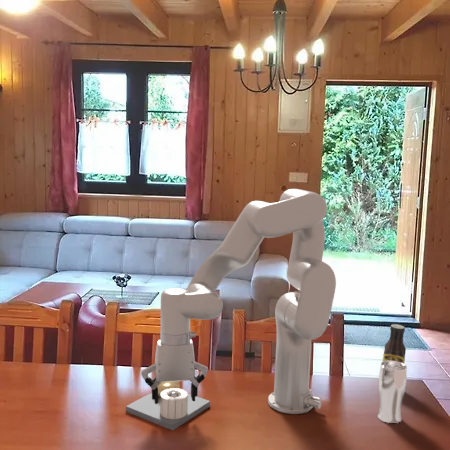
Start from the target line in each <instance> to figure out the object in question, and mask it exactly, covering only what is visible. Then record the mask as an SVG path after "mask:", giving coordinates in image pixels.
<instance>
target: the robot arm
mask: <svg viewBox="0 0 450 450" xmlns="http://www.w3.org/2000/svg"><path fill="white" fill-rule="evenodd" d="M327 206H328V205H327V202H326V200H325V198H324V197H323V196H322V195H320V193H319V194H318V193H317V192H314V191H309V190H306V189H301V188H289V189H287V190H285V191H284V192H283V193H281V195H280V198H279V201H278V202H271V203H270V202H268V201H267V202H266V201H264V200H253V201H250V202H249V203H247V204H246V205H245V206H244V207H243V209H242V211H241V213H239V215H238V217H237V219H236V221H234V223H233V225H232V227H231V228H230V230H229V231H228V233H227V234H226V237H225V238H224V239H223V241H222V243H221V244H220V245H219V246H218V247H217V249H215V251H213V252H212V253H211V254H210V256H209V257H207V258H206V260H204V261H203V263H202V264H201V265H200V266H199V268H198V269H197V271H196V272H194V273H195V274H194V276H192V278H191V280H190V282H189V283H188V285H187V287H186V289H185V288H180V287H179V288H178V287H174V288H173V287H171V288H166V289H164V290H162V292H161V294H160V336H159V337H160V338H159V339H158V341H157V343H156V348H155V356H154V363H153V364H151V365H149V366H148V367H146V368H144V369H142V370H141V371H140V375H141V377H142V378H143V380H144V382H145V383H146V385H147V386H149V387H150V388H151V393H152V400H153V399H155V404H157V403H158V387H157V386H158V385H159V384H160V383H161V382H173V381H178V382H186V381H190V382H191V383H190V394H191V398H192V401H195V397H196V396H197V397H198V393H199V392H198V389H199V388H198V387H199V385H200V383H202V381H203V380H205V378H206V376H207V374H208V372H209V368H208V366H206V365H204V364H202V363H199V362H197V361H196V360H195V351H194V350H195V349H194V343H193V340H192V339H193V338H196V336H197V333H196V331H192V330H191V319H193V320H202V321H203V320H204V321H206V320H209V321H210V320H214V319H216V318H217V317H219V316H220V315H221V313H222V311H223V307H224V304H223V299H222V298H221V296H220V295H219V294H218V293H217V292H216V290H217V289H218V287H219V286H220V284H221V282H223V280H224V278H226V276H228V275H229V274H230V273H231V272H234V271H235V270H236V271H237V270H239V269H241V268H243V267H245V266H247V265H248V264H249V262H250V261H251V259H252V258H253V256H254V255H255V253H256V251H257V250H258V248H259V246H260V245H261V243H262V242H263V240H264V239H265V238H266V239H270V238H278V237H282V236H286V235H289V234H292V241H291V242H292V244H291V248H290V255H289V259H288V264H287V268H286V269H287V270H286V278H287V281H288V283H289V284H290V285H291V286H292V287H294V288H295V289H297V290H298V291H299V292H295V291H289V292H287V293H284V294H283V295H281V296H279V298H278V300H277V302H276V305H275V310H274V312H275V313H274V314H275V315H274V316H275V325H276V347H275V362H274V363H275V366H274V367H275V368H274V383H273V384H274V385H273V388H274V389H273V392H271V393H270V394H269V395H268V397H267V402H268V405H269V406H270V408H272V409H274V410H276V411H278V412H280V413H283V414H289V415H299V414H306V413H308V412H309V411H311V410H312V409H313V408H315V409H319V410H320V409H321V407H322V401H321V398H320V397H318V396H314V395H313V390H312V389H311V388H310V374H311V373H310V372H311V371H310V370H311V369H310V368H311V357H312V356H311V355H312V354H311V353H312V340H316V339H318V338H320V337H321V336H322V335H323V334H324V333H325V331H326V330H327V328H328V325H329V322H330V318H331V314H332V307H333V303H334V298H335V293H336V286H337V280H336V274H335V271H334V269H332V267H331V266H330V265H329V264H327V263H326V262H324V261H323V256H324V248H325V240H326V230H325V225H324V221H323V220H324V219H325V218H326V214H327V211H328V207H327ZM196 370H199V371H200V373H199V374H198V375H197V376H196ZM153 372H154V375H155V376H154V377H153V378H151V377H150V376H149V374H151V373H153Z"/></svg>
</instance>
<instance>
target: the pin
mask: <svg viewBox="0 0 450 450" xmlns="http://www.w3.org/2000/svg"><path fill="white" fill-rule="evenodd" d="M169 397H178V391H175V390H172V391H170V392H169Z"/></svg>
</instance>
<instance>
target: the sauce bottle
mask: <svg viewBox="0 0 450 450" xmlns="http://www.w3.org/2000/svg"><path fill="white" fill-rule="evenodd" d="M405 330H406V328H405V326H404V325H401V324H396V323H394V324H391V325H390V332H389V333H390V335H389V339H388V340H387V342H386V343H385V345H384V350H383V355H382V362H383V361H386V360H393V361H398V362H401V363H403V364H405V360H406V359H405V358H406V351H407V350H406V349H407V348H406V347H405V344H404V334H405V332H406V331H405Z"/></svg>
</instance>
